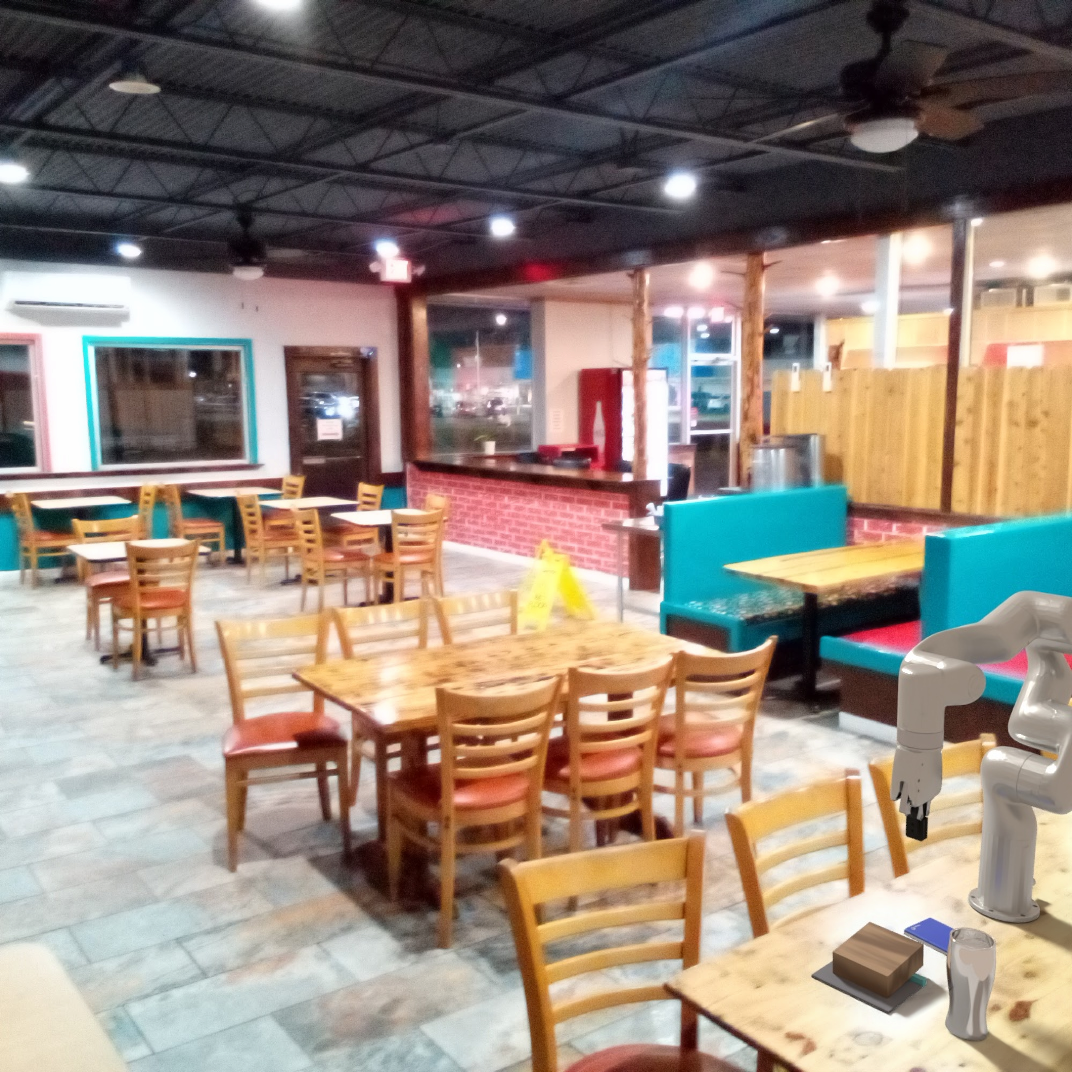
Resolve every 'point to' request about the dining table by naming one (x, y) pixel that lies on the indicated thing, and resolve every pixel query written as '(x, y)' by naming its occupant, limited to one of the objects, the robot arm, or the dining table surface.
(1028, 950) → the dining table surface
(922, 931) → the hard drive
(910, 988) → the mat
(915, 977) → the stop strip
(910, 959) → the slab
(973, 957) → the beer glass
